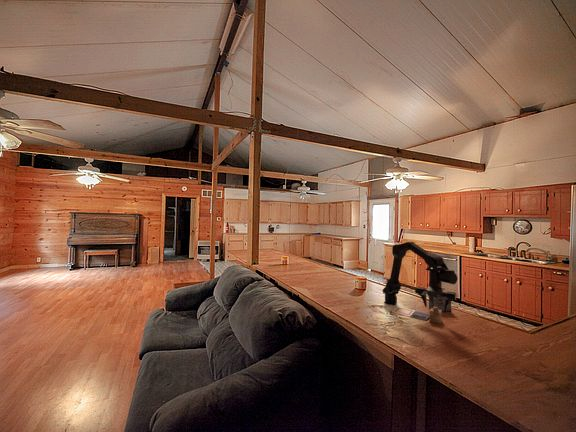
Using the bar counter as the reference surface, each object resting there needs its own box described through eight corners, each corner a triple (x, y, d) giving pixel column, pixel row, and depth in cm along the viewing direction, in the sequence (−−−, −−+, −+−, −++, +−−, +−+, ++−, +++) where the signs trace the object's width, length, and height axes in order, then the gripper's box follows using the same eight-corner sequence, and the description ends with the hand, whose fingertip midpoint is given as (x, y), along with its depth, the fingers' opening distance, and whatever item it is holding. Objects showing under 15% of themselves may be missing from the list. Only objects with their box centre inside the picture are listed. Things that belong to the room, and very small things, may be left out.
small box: (446, 308, 159) (446, 291, 159) (451, 312, 152) (451, 294, 153) (428, 307, 160) (428, 290, 160) (433, 311, 154) (433, 293, 154)
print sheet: (391, 312, 151) (391, 311, 151) (398, 307, 161) (398, 306, 161) (409, 316, 145) (409, 315, 145) (415, 311, 154) (415, 310, 154)
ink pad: (410, 316, 145) (410, 314, 145) (414, 313, 151) (414, 310, 151) (426, 320, 139) (426, 317, 139) (429, 316, 145) (429, 313, 145)
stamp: (429, 321, 138) (429, 307, 138) (431, 319, 142) (431, 305, 142) (439, 324, 135) (439, 309, 135) (441, 321, 139) (441, 307, 139)
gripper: (412, 279, 139) (412, 308, 138) (453, 285, 127) (453, 317, 126) (418, 276, 147) (418, 303, 147) (456, 281, 135) (456, 311, 135)
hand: (435, 309), depth 139 cm, fingers open, 9 cm apart
